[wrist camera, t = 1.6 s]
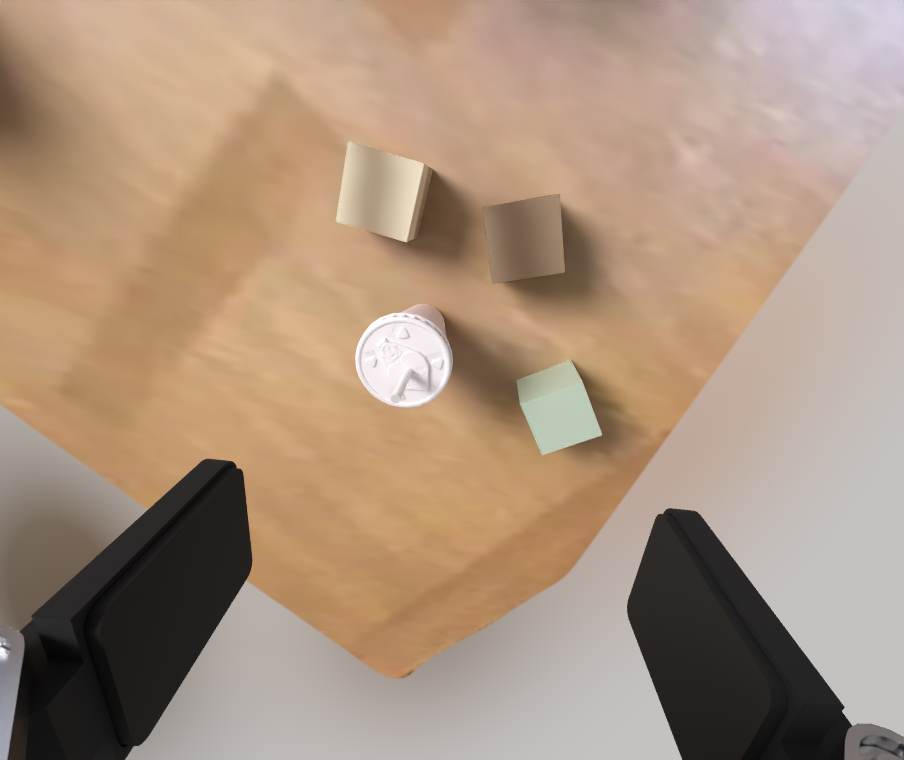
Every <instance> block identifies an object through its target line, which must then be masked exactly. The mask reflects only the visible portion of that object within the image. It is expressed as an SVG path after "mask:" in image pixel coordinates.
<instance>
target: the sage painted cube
mask: <svg viewBox="0 0 904 760" xmlns="http://www.w3.org/2000/svg"><path fill="white" fill-rule="evenodd" d="M516 383H517V389H518V395H519V401H520V405H521V408H522V410H523V412H524V415H525V417H526V419H527V421H528V424H529V426H530V428H531V431H532V433H533V435H534V438H535V440H536V442H537V444H538V447H539V449H540V451H541V454H542V455H544V454H547V453H550V452H553V451H556V450H559V449H562V448H565V447H568V446H571V445H574V444H577V443H580V442H583V441H586V440H589V439H592V438H595V437H598V436H601V435H602V433H601V430H600V427H599V425H598V422H597V419H596V417H595V414H594V411H593V409H592V406H591V403H590V400H589V398H588V395H587V392H586V390H585V387H584V384H583V382H582V380H581V378H580V376H579V374H578V372H577V370H576V369H575V367H574V365H573V363H572V361H571V360H568V361H566V362H563V363H560V364H558V365H555V366H552V367H550V368H547V369H544V370H542V371H539V372H537V373H534V374H531V375H529V376H526V377H523V378H521V379H518V380H516Z"/></svg>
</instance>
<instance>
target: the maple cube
mask: <svg viewBox="0 0 904 760" xmlns="http://www.w3.org/2000/svg"><path fill="white" fill-rule="evenodd" d="M432 171H433V169H432V168H430V167H428V166H427V165H425V164H423V163H420V162H417V161H414V160H410V159H407V158H404V157H400V156H397V155H394V154H390V153H387V152H384V151H380V150H377V149H374V148H371V147H367V146H364V145H361V144H357V143H354V142H351V141H348V146H347V152H346V159H345V165H344V172H343V178H342V185H341V191H340V198H339V204H338V211H337V217H336V222H339V223H342V224H346V225H349V226H353V227H356V228H359V229H363V230H366V231H370V232H373V233H376V234H380V235H383V236H387V237H390V238H393V239H397V240H400V241H403V242H408V241H410V240H413V239H415V238H417V237H418V232H419V228H420V224H421V219H422V215H423V211H424V206H425V202H426V198H427V193H428V189H429V185H430V180H431V176H432Z"/></svg>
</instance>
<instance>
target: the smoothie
mask: <svg viewBox="0 0 904 760" xmlns="http://www.w3.org/2000/svg"><path fill="white" fill-rule="evenodd" d="M452 366H453V357H452V350H451V347H450V345H449V342H448V340H447V338H446V331H445V322H444V318H443V316H442V314H441V313H440V312H439V311H438V310H437V309H436V308H435V307H433V306H431V305H427V304H418V305H415V306H413V307H411V308H409V309H407V310H405V311H403V312H401V313H393V314H390V315H387V316H384V317H381V318H379V319H378V320H377V321H375V322H374V323H372V324H371V325H370V326H369V327H368V329H367V330H366V331H365V332H364V334H363V336H362V338H361V339H360V341H359V343H358V346H357V350H356V368H357V372H358V375H359V377H360V379H361V381H362V383H363V384H364V386H365V387H366V389H367V390H368V391H369V392H370V393H371V394H372V395H373V396H375V397H376V398H377V399H379V400H381V401H383V402H384V403H387V404H389V405H392V406H396V407H404V408H410V407H417V406H421V405H424V404H426V403H428V402H430V401H432V400H433V399H435V398H436V397H437V396H438V395H439V394H440V393H441V392H442V391H443V390H444V388H445V386H446V385H447V383H448V380H449V377H450V376H451V371H452Z"/></svg>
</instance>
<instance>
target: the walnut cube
mask: <svg viewBox="0 0 904 760" xmlns="http://www.w3.org/2000/svg"><path fill="white" fill-rule="evenodd" d="M482 209H483V216H484V224H485V232H486V239H487V247H488V254H489V262H490V270H491V277H492V284H495V283H501V282H508V281H514V280H520V279H527V278H533V277H540V276H546V275H552V274H559V273H565V265H564V250H563V235H562V220H561V206H560V194H556V195H549V196H543V197H538V198H532V199H526V200H521V201H515V202H510V203H504V204H499V205H493V206H488V207H483V208H482Z"/></svg>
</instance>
